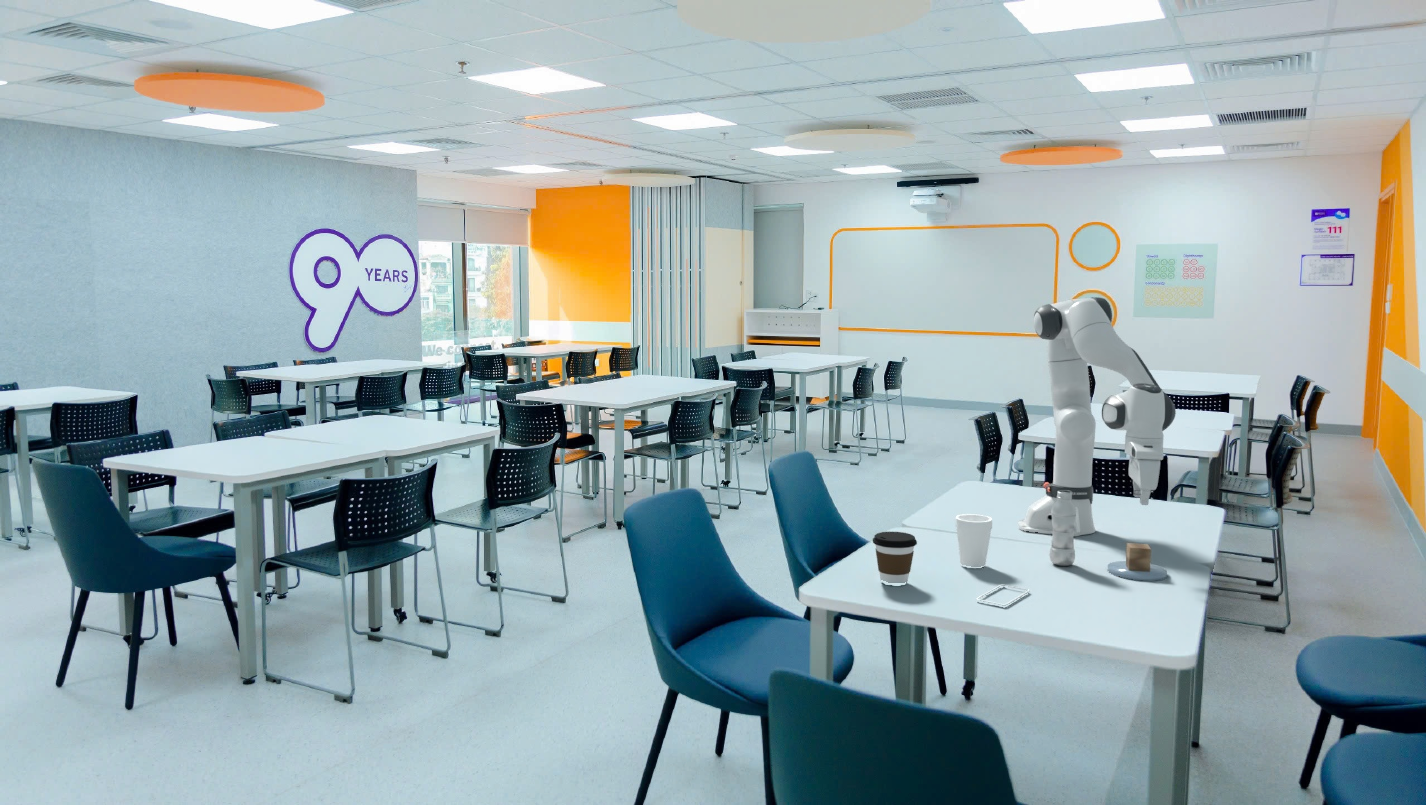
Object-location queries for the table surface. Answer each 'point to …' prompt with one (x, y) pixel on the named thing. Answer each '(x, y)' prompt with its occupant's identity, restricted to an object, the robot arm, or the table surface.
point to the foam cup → (973, 538)
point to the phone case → (1008, 602)
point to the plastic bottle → (1063, 529)
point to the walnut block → (1138, 557)
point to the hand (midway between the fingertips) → (1140, 500)
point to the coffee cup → (894, 555)
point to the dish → (1137, 572)
